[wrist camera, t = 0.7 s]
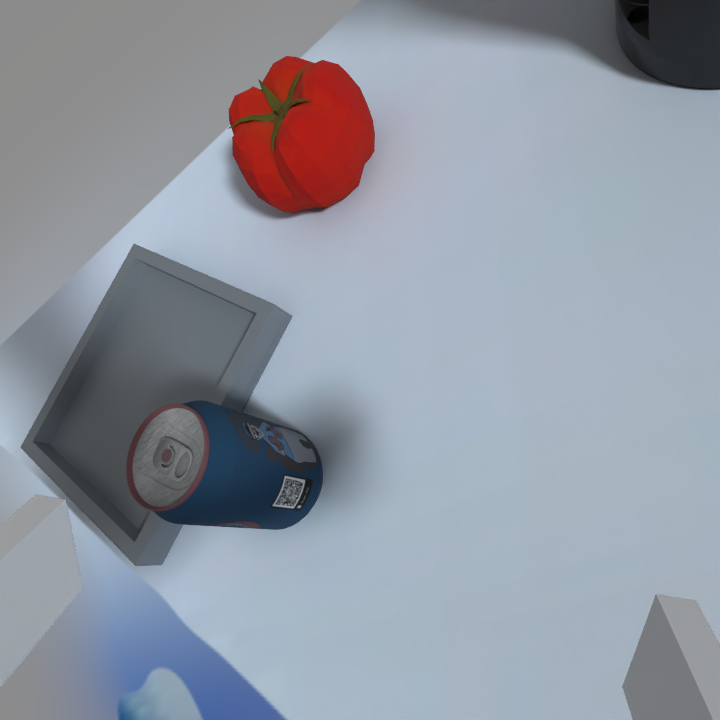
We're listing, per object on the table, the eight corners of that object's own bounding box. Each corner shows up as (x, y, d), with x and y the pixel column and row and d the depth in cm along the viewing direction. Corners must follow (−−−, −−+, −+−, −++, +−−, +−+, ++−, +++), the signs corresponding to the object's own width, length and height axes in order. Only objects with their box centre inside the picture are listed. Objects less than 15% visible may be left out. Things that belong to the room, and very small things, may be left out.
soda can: (237, 505, 40) (99, 490, 30) (274, 419, 41) (153, 376, 31) (306, 547, 36) (176, 547, 26) (346, 452, 37) (234, 416, 27)
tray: (153, 255, 54) (133, 243, 52) (292, 316, 43) (274, 304, 41) (45, 451, 52) (20, 447, 50) (161, 565, 41) (135, 565, 39)
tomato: (409, 114, 44) (360, 23, 36) (349, 242, 43) (285, 176, 35) (313, 108, 50) (252, 28, 42) (257, 221, 48) (185, 160, 41)
